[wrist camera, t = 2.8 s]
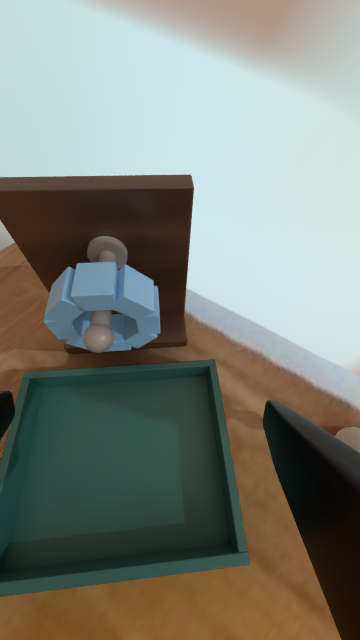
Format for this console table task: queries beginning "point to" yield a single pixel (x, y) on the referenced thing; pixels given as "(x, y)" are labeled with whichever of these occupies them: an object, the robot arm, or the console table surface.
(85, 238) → the hook rack
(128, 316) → the blue segmented ring
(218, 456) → the tray
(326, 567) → the robot arm
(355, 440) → the chalice
